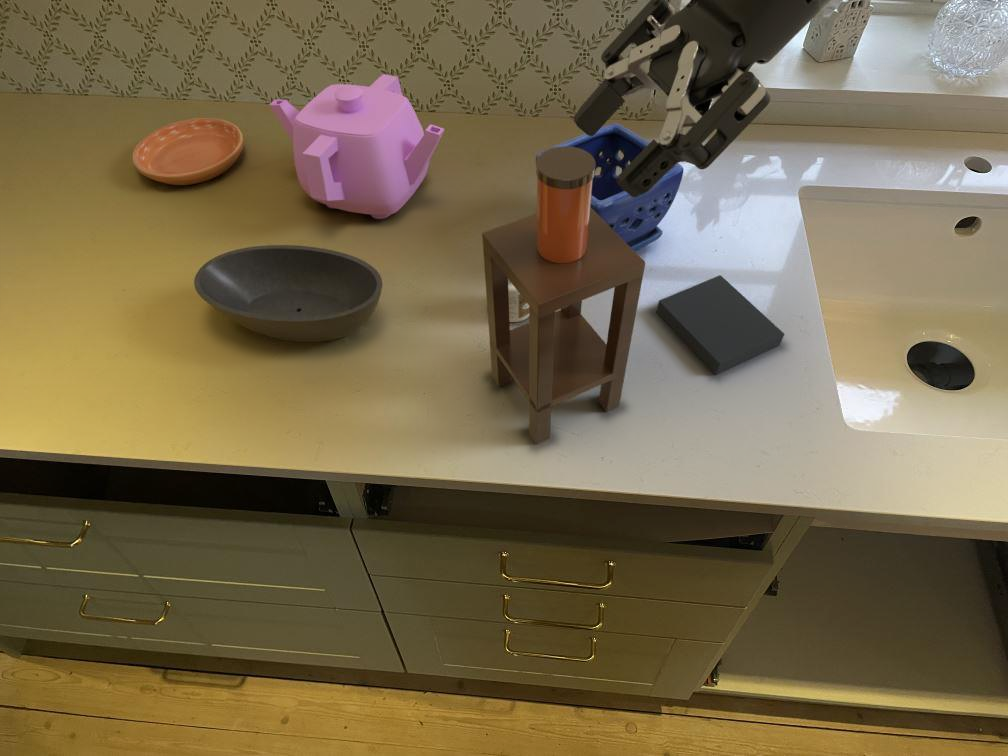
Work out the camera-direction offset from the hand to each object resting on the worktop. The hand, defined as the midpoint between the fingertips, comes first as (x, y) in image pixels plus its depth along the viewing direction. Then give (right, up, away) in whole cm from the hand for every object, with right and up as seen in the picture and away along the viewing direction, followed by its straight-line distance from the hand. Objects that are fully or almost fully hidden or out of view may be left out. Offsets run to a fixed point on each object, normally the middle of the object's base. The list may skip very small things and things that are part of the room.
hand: (602, 157), depth 49 cm
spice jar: (-3, -6, +6) cm, 8 cm away
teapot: (-27, +10, +45) cm, 53 cm away
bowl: (-32, -10, +29) cm, 44 cm away
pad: (+17, -11, +26) cm, 33 cm away
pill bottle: (-6, -9, +29) cm, 31 cm away
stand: (-2, -18, +21) cm, 28 cm away
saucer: (-55, +17, +51) cm, 77 cm away
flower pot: (+5, +2, +37) cm, 37 cm away
